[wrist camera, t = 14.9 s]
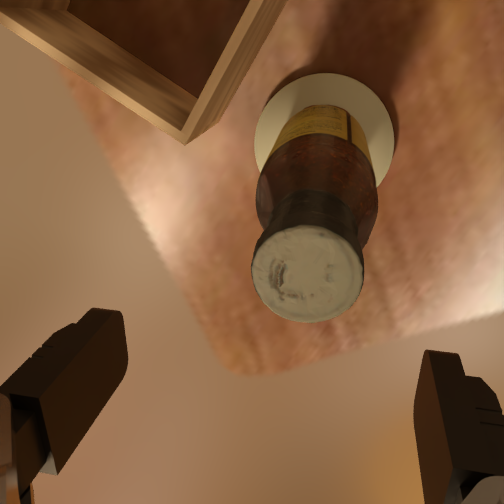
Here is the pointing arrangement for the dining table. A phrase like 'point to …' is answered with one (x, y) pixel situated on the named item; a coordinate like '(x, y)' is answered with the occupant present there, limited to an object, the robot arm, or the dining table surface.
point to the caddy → (137, 72)
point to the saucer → (337, 94)
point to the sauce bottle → (314, 216)
